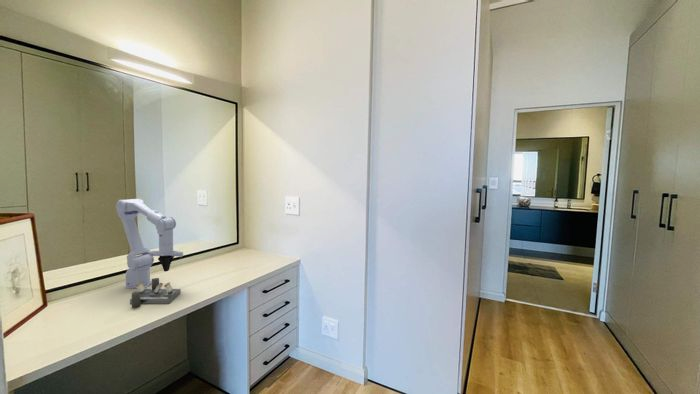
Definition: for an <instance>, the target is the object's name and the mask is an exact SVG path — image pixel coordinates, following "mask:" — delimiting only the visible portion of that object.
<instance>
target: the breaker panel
mask: <svg viewBox="0 0 700 394" xmlns="http://www.w3.org/2000/svg"><path fill="white" fill-rule="evenodd" d="M172 289H173V291H172V292H171V293H170V294H168V293H167V291H166V289H165V288H161V289H160V290H159V291H158V292H157V293H156V294H154V291H155V289H152V288H145V291H144V292H143V293H141V294H140V304H141V305H169V304H170V303H171V302H173V300H175V299H176V298H177V297H178V296H179V295H181V292H182V291H181V288H172ZM129 304H130V305H132V297H131V298H130V299H129Z"/></svg>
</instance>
